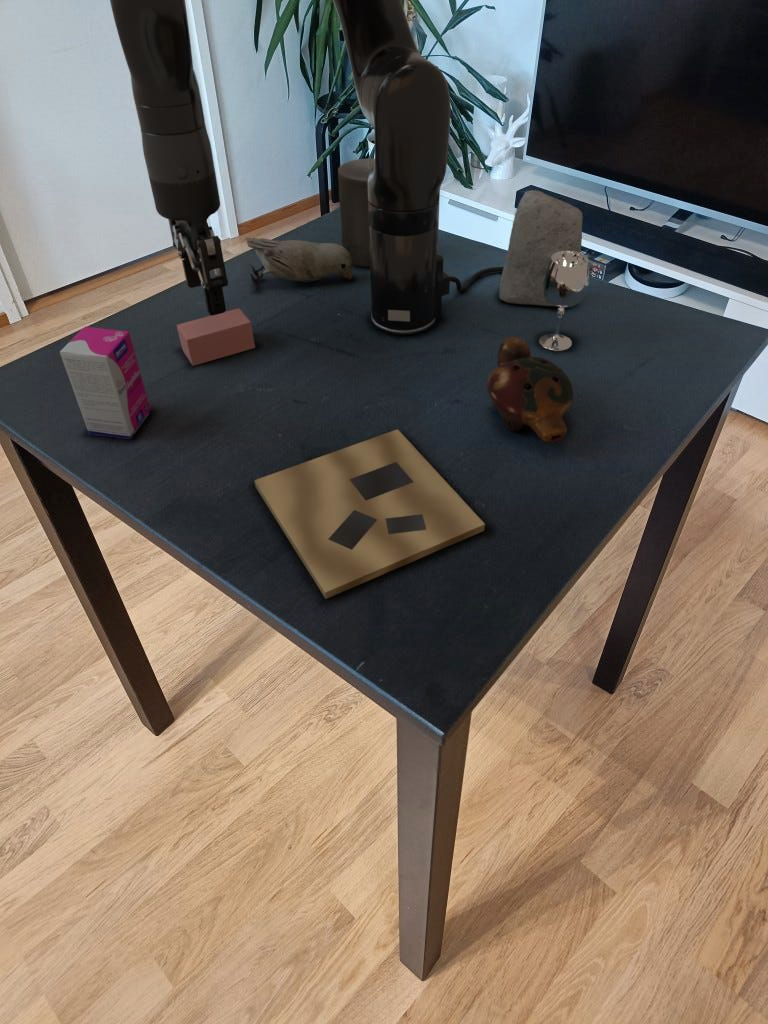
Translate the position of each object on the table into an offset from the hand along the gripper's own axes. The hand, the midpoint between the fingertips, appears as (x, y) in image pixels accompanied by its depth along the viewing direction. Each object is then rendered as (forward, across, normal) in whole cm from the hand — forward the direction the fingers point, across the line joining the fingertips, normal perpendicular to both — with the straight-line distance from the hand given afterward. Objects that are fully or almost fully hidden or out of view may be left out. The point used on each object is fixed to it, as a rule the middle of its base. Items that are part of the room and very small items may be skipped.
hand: (206, 298), depth 93 cm
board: (+8, -38, -3) cm, 39 cm away
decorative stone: (+7, -11, -46) cm, 48 cm away
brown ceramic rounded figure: (+7, -34, -27) cm, 44 cm away
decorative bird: (+8, +12, -18) cm, 23 cm away
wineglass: (+7, -22, -41) cm, 47 cm away
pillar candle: (+7, +15, -32) cm, 37 cm away
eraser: (+8, 0, 0) cm, 8 cm away
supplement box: (+8, -10, +16) cm, 20 cm away
